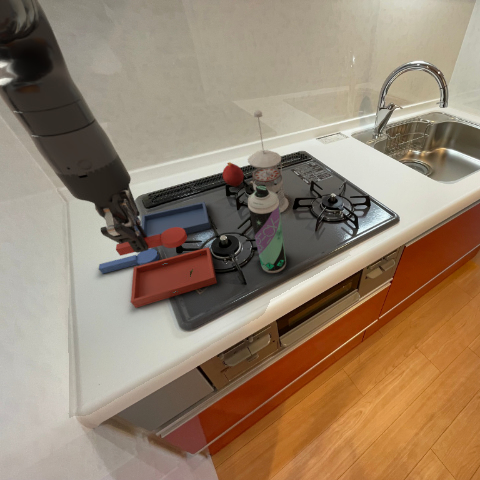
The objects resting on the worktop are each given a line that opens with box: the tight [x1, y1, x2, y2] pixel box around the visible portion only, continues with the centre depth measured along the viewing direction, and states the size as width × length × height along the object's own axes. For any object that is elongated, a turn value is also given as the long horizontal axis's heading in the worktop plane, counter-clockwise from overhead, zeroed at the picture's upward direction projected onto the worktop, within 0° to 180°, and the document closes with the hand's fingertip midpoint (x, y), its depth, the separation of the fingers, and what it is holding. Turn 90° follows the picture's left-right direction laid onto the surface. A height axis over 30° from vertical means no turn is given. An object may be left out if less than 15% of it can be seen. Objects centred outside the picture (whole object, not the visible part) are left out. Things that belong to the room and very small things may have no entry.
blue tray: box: [141, 201, 212, 237], centre depth 68 cm, size 15×9×2 cm, turn 113°
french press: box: [247, 109, 290, 214], centre depth 68 cm, size 10×12×25 cm
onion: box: [222, 161, 245, 188], centre depth 79 cm, size 6×6×8 cm
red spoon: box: [115, 227, 188, 256], centre depth 49 cm, size 11×4×2 cm, turn 113°
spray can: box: [247, 185, 287, 274], centre depth 53 cm, size 6×6×20 cm
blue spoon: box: [98, 248, 160, 275], centre depth 59 cm, size 11×4×2 cm, turn 113°
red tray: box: [130, 247, 218, 309], centre depth 56 cm, size 15×9×2 cm, turn 113°
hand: (142, 246), depth 49 cm, fingers closed on red spoon, 1 cm apart
